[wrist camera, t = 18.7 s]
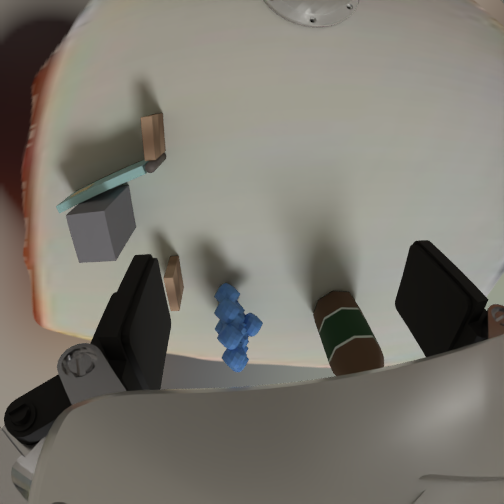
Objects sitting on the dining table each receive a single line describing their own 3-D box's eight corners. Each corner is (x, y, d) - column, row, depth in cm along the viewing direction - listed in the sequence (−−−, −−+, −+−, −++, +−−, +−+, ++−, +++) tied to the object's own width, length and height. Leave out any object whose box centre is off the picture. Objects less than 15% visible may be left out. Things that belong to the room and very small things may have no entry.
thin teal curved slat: (152, 155, 34) (141, 164, 30) (156, 163, 35) (145, 173, 30) (73, 191, 35) (55, 205, 31) (76, 198, 36) (59, 213, 31)
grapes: (262, 324, 49) (271, 382, 39) (222, 329, 49) (222, 387, 39) (254, 265, 43) (263, 322, 33) (208, 272, 43) (203, 329, 33)
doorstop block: (95, 189, 36) (65, 215, 28) (128, 185, 36) (104, 210, 28) (104, 229, 39) (79, 262, 31) (136, 227, 39) (116, 260, 31)
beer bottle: (302, 316, 49) (340, 446, 28) (331, 281, 46) (390, 412, 25) (336, 329, 51) (380, 446, 30) (364, 298, 48) (425, 415, 27)
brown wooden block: (153, 114, 32) (139, 117, 27) (162, 113, 32) (150, 116, 27) (175, 287, 44) (170, 312, 39) (183, 287, 44) (179, 312, 39)
